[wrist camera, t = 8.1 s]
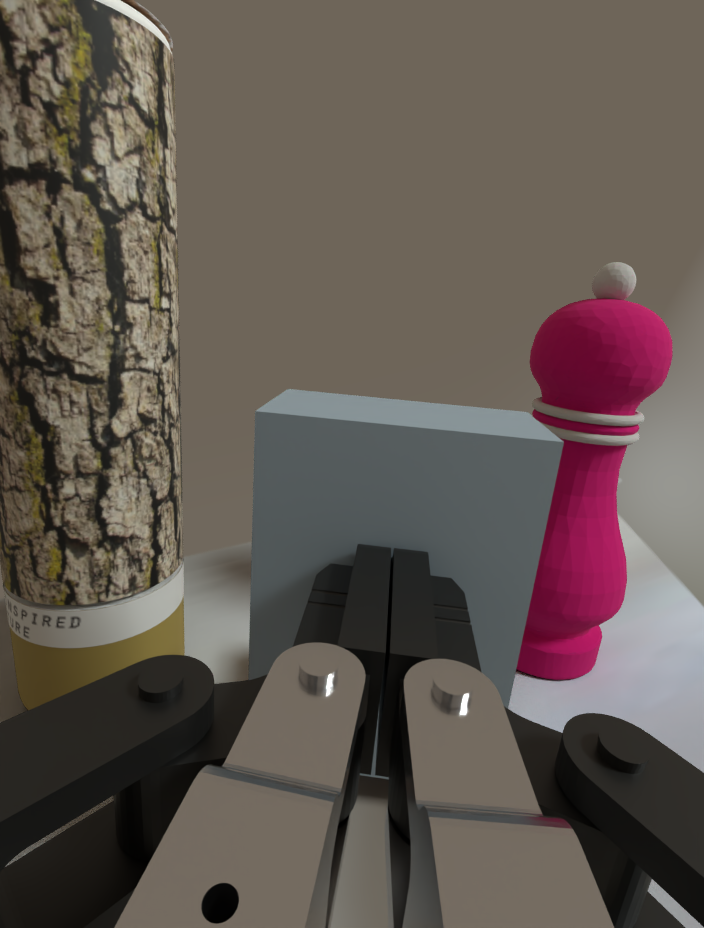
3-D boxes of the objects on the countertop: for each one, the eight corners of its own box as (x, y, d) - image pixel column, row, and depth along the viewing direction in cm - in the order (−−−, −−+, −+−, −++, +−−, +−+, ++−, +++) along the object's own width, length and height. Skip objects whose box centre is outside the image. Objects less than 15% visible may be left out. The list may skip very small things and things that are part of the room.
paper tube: (131, 754, 20) (82, -58, 12) (-22, 717, 21) (-151, -51, 13) (209, 646, 26) (209, 70, 19) (90, 622, 27) (45, 68, 20)
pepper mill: (543, 600, 33) (614, 272, 27) (636, 674, 27) (756, 267, 21) (446, 614, 31) (502, 257, 25) (523, 701, 24) (623, 246, 18)
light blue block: (242, 906, 14) (255, 411, 10) (269, 806, 17) (287, 388, 13) (458, 943, 14) (564, 442, 10) (449, 835, 17) (527, 412, 13)
